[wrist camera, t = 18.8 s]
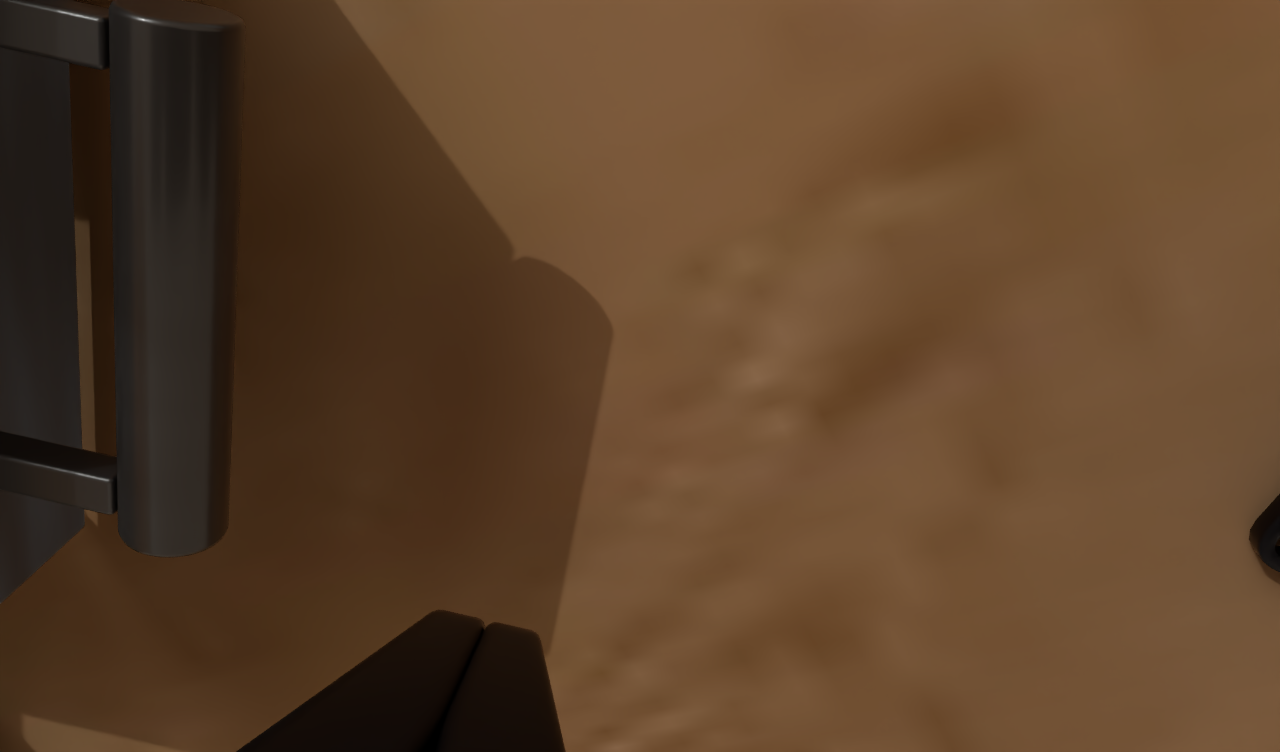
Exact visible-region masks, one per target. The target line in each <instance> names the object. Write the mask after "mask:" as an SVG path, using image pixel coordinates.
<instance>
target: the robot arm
mask: <svg viewBox="0 0 1280 752" xmlns="http://www.w3.org/2000/svg"><path fill="white" fill-rule="evenodd" d="M1278 539H1280V494H1279V495H1278V496H1277V498H1276V499H1275V500H1274V501H1273V502H1272V503H1271V504H1270V505H1269V506H1268V507H1267V509H1266V510H1265V511H1264V512H1263V513H1262V514H1261V515H1260V516H1259V517H1258V518H1257V520H1256V521H1255V523H1254V524H1253V526H1252V527H1251V529H1250V536H1249V540H1250V543H1251V545H1252V547H1253V549H1254V550H1255V552H1256V553H1257V554H1258V556H1259V557H1260V558H1261V559H1262V561H1263V562H1264V563H1266V564H1267V565H1268V566H1269V567H1271V568H1272V569H1274V570H1276V571H1278V572H1280V546H1276V543H1277V541H1278ZM236 752H565V747H564V743H563V738H562V734H561V729H560V725H559V720H558V716H557V711H556V707H555V702H554V698H553V693H552V689H551V685H550V680H549V676H548V671H547V667H546V662H545V658H544V653H543V649H542V644H541V640H540V638H539V636H538V634H537V633H536V632H534V631H532V630H528V629H524V628H519V627H515V626H511V625H506V624H502V623H498V622H494V623H491V624H489V625H488V626H487V627H486V628H485V625H484V622H483V621H482V620H481V619H479V618H476V617H471V616H467V615H463V614H458V613H454V612H450V611H445V610H436V611H433V612H431V613H429V614H428V615H427V616H425V617H424V618H422V619H421V620H420V621H418V622H417V623H415V624H414V625H413V626H411V627H410V628H408V629H407V630H406V631H404V632H403V633H401V634H400V635H399V636H397V637H396V638H394V639H393V640H392V641H390V642H389V643H387V644H386V645H385V646H383V647H382V648H380V649H379V650H378V651H376V652H375V653H373V654H372V655H371V656H369V657H368V658H366V659H365V660H364V661H362V662H361V663H359V664H358V665H357V666H355V667H354V668H352V669H351V670H350V671H348V672H347V673H345V674H344V675H343V676H341V677H340V678H338V679H337V680H336V681H334V682H333V683H331V684H330V685H329V686H327V687H326V688H324V689H323V690H322V691H320V692H319V693H317V694H316V695H315V696H313V697H312V698H310V699H309V700H308V701H306V702H305V703H304V704H302V705H301V706H299V707H298V708H297V709H295V710H294V711H292V712H291V713H290V714H288V715H287V716H285V717H284V718H283V719H281V720H280V721H278V722H277V723H276V724H274V725H273V726H271V727H270V728H269V729H267V730H266V731H264V732H263V733H262V734H260V735H259V736H257V737H256V738H255V739H253V740H252V741H250V742H249V743H248V744H246V745H245V746H243V747H242V748H241V749H239V750H238V751H236Z"/></svg>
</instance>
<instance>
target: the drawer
mask: <svg viewBox="0 0 1280 752" xmlns="http://www.w3.org/2000/svg"><path fill="white" fill-rule="evenodd" d="M245 34H246V26H245V23H244V21H243V19H242V18H241V17H239V16H237V15H235V14H233V13H231V12H229V11H226V10H223V9H220V8H216V7H213V6H208V5H204V4H199V3H194V2H188V1H182V0H114V1H112V2H111V5H110V7H109V8H105V7H100V6H96V5H91V4H87V3H82V2H78V1H73V0H0V604H1V603H2V602H3V601H4V600H5V599H6V598H7V597H9V596H10V595H11V594H12V593H13V592H14V591H15V590H16V589H17V588H18V587H19V586H20V585H22V584H23V583H24V582H25V581H26V580H27V579H28V578H29V577H30V576H31V575H32V574H33V573H35V572H36V571H37V570H38V569H39V568H40V567H41V566H42V565H43V564H44V563H45V562H46V561H48V560H49V559H50V558H51V557H52V556H53V555H54V554H55V553H56V552H57V551H58V550H59V549H61V548H62V547H63V546H64V545H65V544H66V543H67V542H68V541H69V540H70V539H71V538H72V537H73V536H75V535H76V534H77V533H78V532H79V531H80V530H81V529H82V528H83V527H84V525H85V517H84V509H86V510H91V511H95V512H100V513H104V514H108V515H109V514H114V513H116V512H117V511H118V532H119V535H120V537H121V538H122V540H123V541H124V543H125V544H126V545H127V546H129V547H130V548H132V549H133V550H135V551H137V552H140V553H142V554H146V555H150V556H156V557H181V556H187V555H192V554H196V553H199V552H202V551H204V550H206V549H208V548H210V547H212V546H214V545H215V544H216V543H218V542H219V541H220V540H221V539H222V537H223V536H224V534H225V532H226V530H227V528H228V521H229V492H230V464H231V435H232V406H233V378H234V349H235V320H236V292H237V263H238V234H239V206H240V177H241V148H242V120H243V91H244V62H245ZM69 63H71V64H76V65H80V66H85V67H90V68H94V69H99V70H104V69H109V68H110V115H111V170H112V225H113V280H114V336H115V391H116V446H117V457H115V456H110V455H106V454H102V453H97V452H93V451H88V450H84V449H82V428H81V399H80V370H79V340H78V311H77V281H76V252H75V223H74V193H73V164H72V134H71V105H70V76H69Z"/></svg>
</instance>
